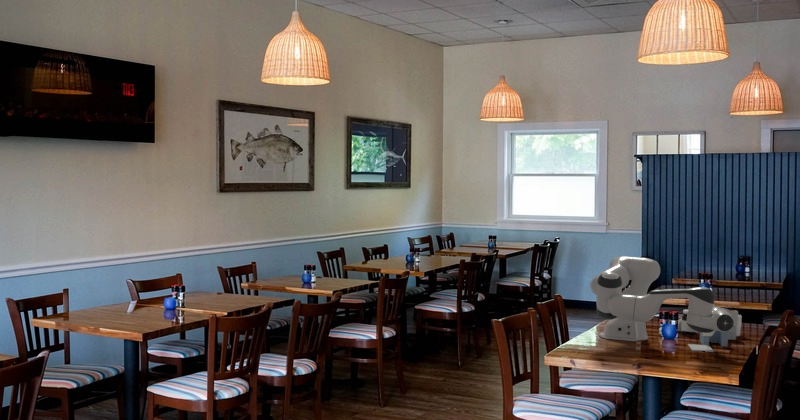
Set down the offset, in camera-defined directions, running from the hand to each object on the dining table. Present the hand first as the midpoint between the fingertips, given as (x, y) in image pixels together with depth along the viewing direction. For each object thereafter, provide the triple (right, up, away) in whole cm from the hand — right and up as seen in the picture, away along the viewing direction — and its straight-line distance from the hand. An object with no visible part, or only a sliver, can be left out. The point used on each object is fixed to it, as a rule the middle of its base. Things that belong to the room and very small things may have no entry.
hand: (709, 312), depth 354 cm
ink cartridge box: (+19, -17, +30) cm, 39 cm away
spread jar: (+5, -16, +44) cm, 47 cm away
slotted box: (+8, -17, +16) cm, 24 cm away
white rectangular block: (0, -9, 0) cm, 9 cm away
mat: (-3, -17, +3) cm, 17 cm away
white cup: (+27, -17, +40) cm, 51 cm away
